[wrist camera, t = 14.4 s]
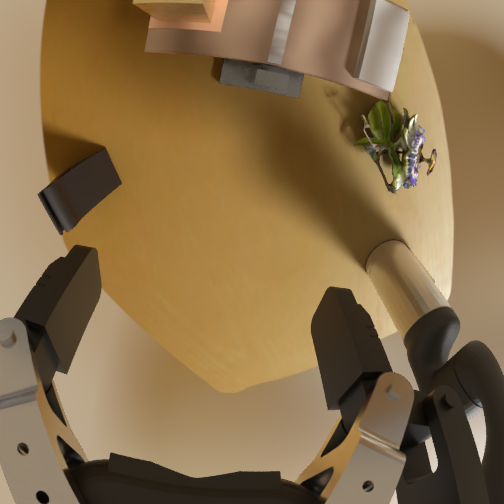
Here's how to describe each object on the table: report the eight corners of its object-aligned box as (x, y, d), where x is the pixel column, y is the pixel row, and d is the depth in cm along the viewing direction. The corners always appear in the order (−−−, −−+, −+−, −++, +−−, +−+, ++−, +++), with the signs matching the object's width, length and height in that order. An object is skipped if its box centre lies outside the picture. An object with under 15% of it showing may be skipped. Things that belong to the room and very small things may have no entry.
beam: (397, 12, 20) (414, 8, 17) (378, 98, 27) (394, 102, 24) (173, -41, 16) (166, -53, 13) (150, 52, 23) (139, 50, 20)
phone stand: (78, 203, 40) (42, 244, 30) (62, 171, 36) (20, 205, 26) (122, 183, 39) (90, 222, 29) (106, 147, 35) (66, 177, 25)
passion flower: (387, 137, 42) (425, 194, 38) (333, 148, 41) (372, 212, 37) (408, 88, 32) (460, 150, 27) (348, 92, 31) (403, 163, 26)
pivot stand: (322, -16, 24) (353, -41, 15) (295, 97, 34) (319, 106, 24) (246, -33, 22) (252, -68, 13) (219, 83, 32) (214, 85, 23)
